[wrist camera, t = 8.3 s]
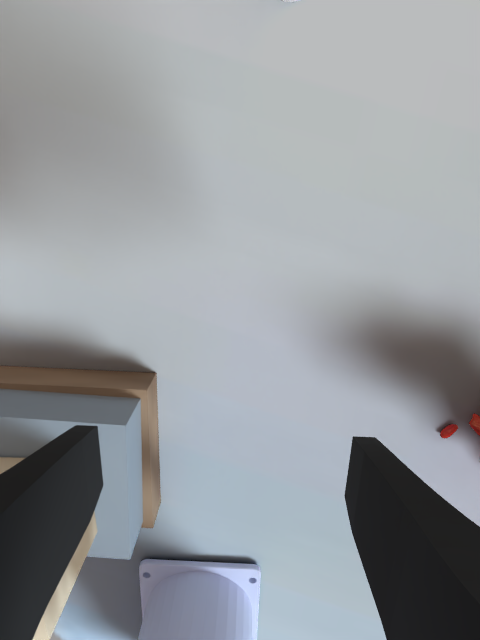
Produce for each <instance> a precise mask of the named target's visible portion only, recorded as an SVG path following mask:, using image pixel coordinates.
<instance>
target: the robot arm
mask: <svg viewBox="0 0 480 640" xmlns="http://www.w3.org/2000/svg"><path fill="white" fill-rule="evenodd" d="M102 488H103V475H102V465H101V455H100V445H99V435H98V426H87V425H76V426H74V427H72V428H71V429H69V430H67V431H66V432H64V433H63V434H61V435H60V436H58V437H57V438H55V439H54V440H52V441H51V442H49V443H48V444H46V445H45V446H43V447H42V448H40V449H39V450H37V451H36V452H34V453H33V454H31V455H30V456H28V457H26V458H25V459H23V460H22V461H20V462H19V463H17V464H16V465H14V466H13V467H11V468H10V469H8V470H6V471H5V472H3V473H1V474H0V640H33V637H34V635H35V632H36V630H37V628H38V625H39V623H40V621H41V619H42V616H43V614H44V612H45V610H46V608H47V606H48V604H49V602H50V600H51V598H52V596H53V594H54V592H55V590H56V588H57V586H58V584H59V582H60V580H61V578H62V576H63V574H64V572H65V570H66V568H67V567H68V565H69V563H70V561H71V559H72V557H73V555H74V553H75V551H76V549H77V547H78V545H79V543H80V541H81V539H82V537H83V535H84V533H85V531H86V529H87V527H88V525H89V523H90V521H91V518H92V516H93V513H94V511H95V508H96V505H97V502H98V500H99V497H100V494H101V491H102ZM345 500H346V505H347V510H348V516H349V520H350V525H351V530H352V534H353V537H354V540H355V543H356V546H357V549H358V552H359V555H360V558H361V561H362V564H363V567H364V570H365V573H366V576H367V579H368V582H369V585H370V588H371V591H372V594H373V597H374V600H375V603H376V606H377V609H378V612H379V615H380V618H381V621H382V625H383V628H384V631H385V635H386V638H387V640H480V527H479V526H478V525H476V524H475V523H474V522H472V521H471V520H470V519H468V518H467V517H466V516H464V515H463V514H462V513H461V512H459V511H458V510H457V509H456V508H454V507H453V506H452V505H451V504H449V503H448V502H447V501H446V500H444V499H443V498H442V497H441V496H440V495H439V494H437V493H436V492H435V491H434V490H433V489H431V488H430V487H429V486H428V485H427V484H426V483H425V482H423V481H422V480H421V479H420V478H419V477H418V476H417V475H416V474H414V473H413V472H412V471H411V470H410V469H409V468H408V467H407V466H406V465H405V464H404V463H402V462H401V461H400V460H399V459H398V458H397V457H396V456H395V455H394V454H393V453H392V452H391V451H390V450H388V449H387V448H386V447H385V446H384V445H383V444H382V443H381V442H380V441H378V440H377V439H376V438H375V437H353V440H352V447H351V454H350V462H349V469H348V476H347V483H346V490H345ZM260 577H261V570H260V567H259V566H257V565H255V564H241V563H220V562H199V561H178V560H157V559H144V560H142V561H141V562H140V566H139V578H140V592H141V606H142V625H141V629H140V633H139V637H138V640H257V625H258V609H259V593H260Z"/></svg>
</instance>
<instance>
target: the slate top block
mask: <svg viewBox="0 0 480 640" xmlns="http://www.w3.org/2000/svg"><path fill="white" fill-rule="evenodd" d="M76 425H87V426H98V435H99V445H100V455H101V465H102V475H103V488H102V491H101V494H100V497H99V500H98V502H97V505H96V508H95V518H96V524H97V534H96V536H95V538H94V540H93V543H92V545H91V547H90V550H89V552H88V554H87V556H86V557H99V558H113V559H127V560H130V559H131V556H132V553H133V550H134V547H135V544H136V541H137V538H138V535H139V532H140V529H141V526H142V523H143V493H142V441H141V398H127V397H113V396H99V395H84V394H70V393H56V392H42V391H27V390H13V389H0V457H13V458H26V457H28V456H30V455H31V454H33V453H34V452H36V451H37V450H39V449H40V448H42V447H43V446H45V445H46V444H48V443H49V442H51V441H52V440H54V439H55V438H57V437H58V436H60V435H61V434H63V433H64V432H66V431H67V430H69V429H71V428H72V427H74V426H76Z"/></svg>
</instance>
